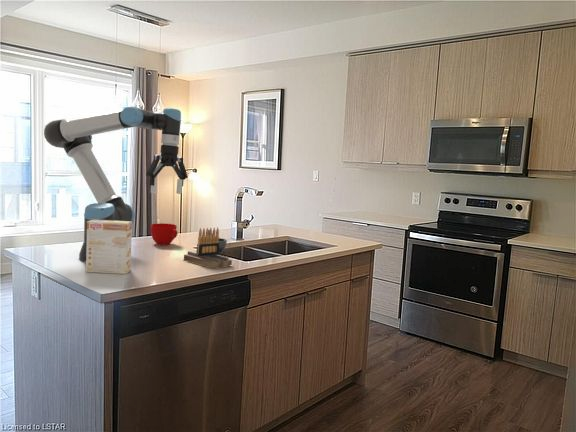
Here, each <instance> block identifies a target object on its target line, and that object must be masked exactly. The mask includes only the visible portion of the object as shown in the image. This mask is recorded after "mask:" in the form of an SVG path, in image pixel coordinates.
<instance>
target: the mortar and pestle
mask: <svg viewBox="0 0 576 432" xmlns="http://www.w3.org/2000/svg"><path fill="white" fill-rule="evenodd" d="M208 231H210V229H208ZM212 235H213V233H212ZM227 242H228V240H227V239H226V238H221V237H219V254H216V255H219V256H222V255H223V250H224V249H226V246H227Z"/></svg>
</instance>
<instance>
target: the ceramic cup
mask: <svg viewBox="0 0 576 432" xmlns="http://www.w3.org/2000/svg"><path fill="white" fill-rule="evenodd" d="M150 235H151V238H152V239H153V242H154V243H156V245H158V246H169V245H170V244H171V243H172V242H173V241H174V239H176V238H177V236H178V230H177V224H174V223H163V222H162V223H159V222H158V223H151V224H150Z"/></svg>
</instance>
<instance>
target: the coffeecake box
mask: <svg viewBox="0 0 576 432" xmlns="http://www.w3.org/2000/svg"><path fill="white" fill-rule="evenodd" d="M132 236H133V223H132V221H113V220H95V219H93V220H90V221H87V247H86V261H85V262H86V263H85V272H86V273H99V274H101V273H102V274H118V275H127V274H128V273H129V272H130V271H132V246H133V245H132V242H133V240H132V238H133V237H132Z"/></svg>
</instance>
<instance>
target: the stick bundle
mask: <svg viewBox="0 0 576 432" xmlns="http://www.w3.org/2000/svg"><path fill="white" fill-rule="evenodd" d="M196 254H197V250H196V252H193V251H187V253H186V254H183V261H186V262H190V263H193V264H196V265H198V266H199V265H200V266H203V267H206V268H210V269H212V270H213V269H214V270H215V269H216V270H217V269H221V268H226V266H228V267H231V266H230V265H232V262H233V260H232V259H229V257H227V256H226V257H225V256H222V255H206V256H197V255H196Z"/></svg>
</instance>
